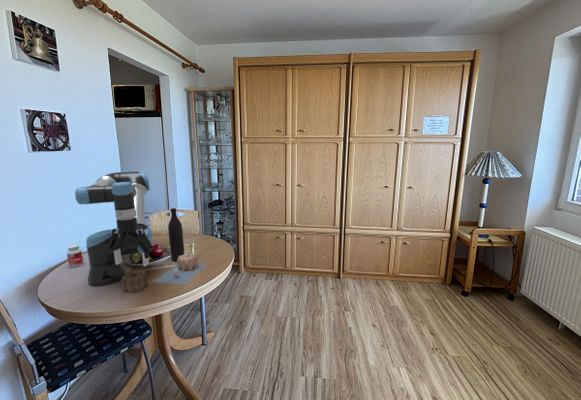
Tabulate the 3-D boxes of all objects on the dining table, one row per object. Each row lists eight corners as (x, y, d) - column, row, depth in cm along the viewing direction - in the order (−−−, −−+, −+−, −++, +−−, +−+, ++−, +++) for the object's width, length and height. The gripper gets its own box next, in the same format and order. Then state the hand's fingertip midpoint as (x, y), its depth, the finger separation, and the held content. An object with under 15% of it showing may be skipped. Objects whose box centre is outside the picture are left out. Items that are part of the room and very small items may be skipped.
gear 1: (118, 292, 117) (116, 279, 116) (133, 281, 126) (132, 269, 125) (137, 293, 116) (136, 280, 114) (152, 282, 125) (150, 270, 124)
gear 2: (174, 270, 135) (173, 257, 134) (184, 262, 144) (183, 250, 143) (192, 271, 134) (190, 258, 132) (201, 263, 143) (200, 251, 142)
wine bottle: (187, 259, 151) (183, 207, 145) (177, 264, 145) (172, 210, 139) (178, 257, 154) (173, 206, 148) (168, 261, 148) (163, 209, 142)
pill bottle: (68, 268, 140) (64, 249, 138) (70, 264, 146) (66, 245, 143) (83, 266, 144) (79, 246, 141) (84, 262, 149) (81, 243, 147)
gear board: (153, 283, 124) (152, 274, 123) (179, 263, 145) (178, 255, 144) (185, 286, 122) (184, 276, 121) (206, 265, 143) (206, 256, 142)
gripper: (93, 219, 113) (100, 266, 117) (146, 221, 109) (152, 269, 113) (107, 215, 120) (114, 259, 124) (158, 216, 116) (163, 262, 120)
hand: (132, 264), depth 119 cm, fingers open, 13 cm apart
